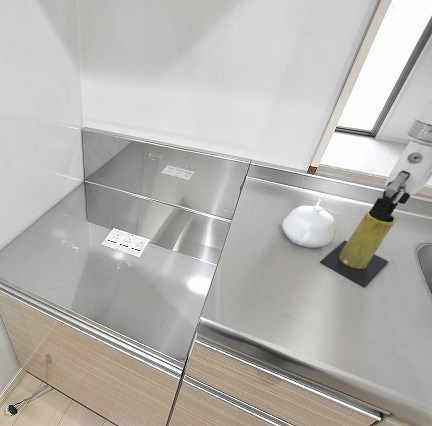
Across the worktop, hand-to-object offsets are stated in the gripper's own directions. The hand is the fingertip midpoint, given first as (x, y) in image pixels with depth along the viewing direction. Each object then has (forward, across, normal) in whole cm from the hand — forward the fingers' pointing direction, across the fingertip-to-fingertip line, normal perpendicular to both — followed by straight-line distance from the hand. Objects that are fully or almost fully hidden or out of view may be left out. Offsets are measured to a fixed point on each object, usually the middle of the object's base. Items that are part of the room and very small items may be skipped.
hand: (387, 208), depth 64 cm
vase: (+17, 0, 0) cm, 17 cm away
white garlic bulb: (+17, 0, +12) cm, 21 cm away
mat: (+17, 0, 0) cm, 17 cm away
